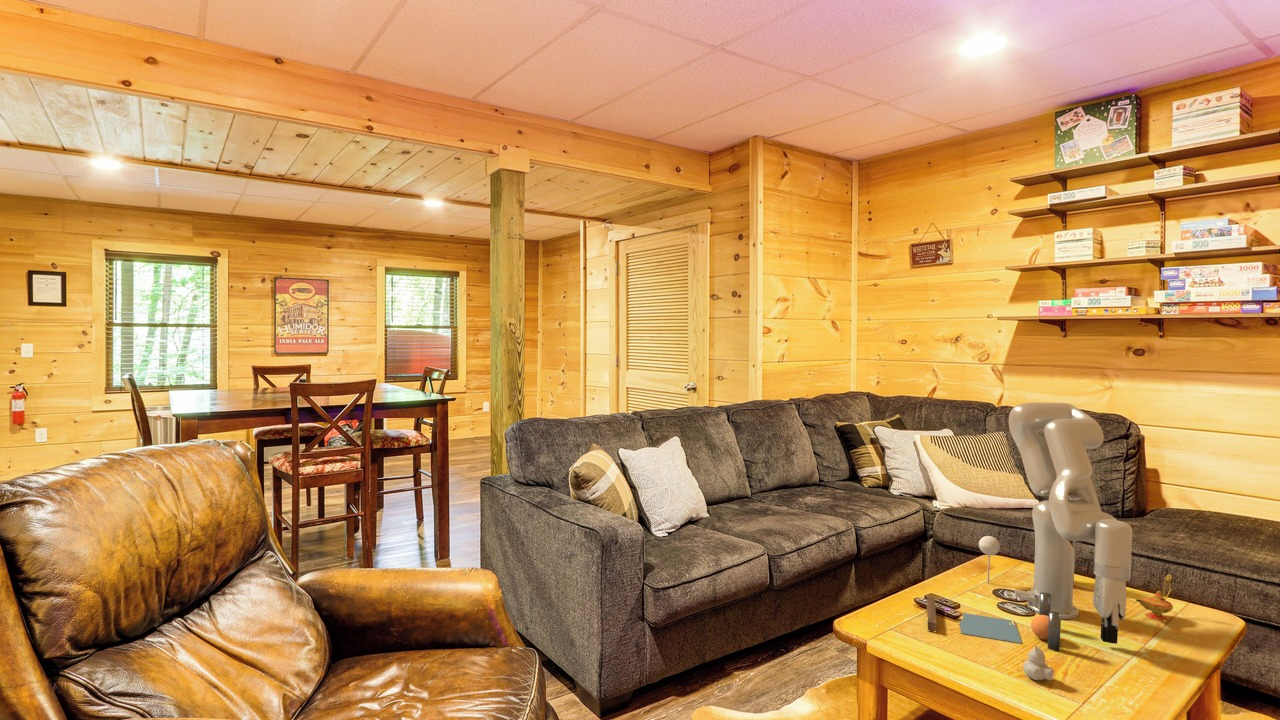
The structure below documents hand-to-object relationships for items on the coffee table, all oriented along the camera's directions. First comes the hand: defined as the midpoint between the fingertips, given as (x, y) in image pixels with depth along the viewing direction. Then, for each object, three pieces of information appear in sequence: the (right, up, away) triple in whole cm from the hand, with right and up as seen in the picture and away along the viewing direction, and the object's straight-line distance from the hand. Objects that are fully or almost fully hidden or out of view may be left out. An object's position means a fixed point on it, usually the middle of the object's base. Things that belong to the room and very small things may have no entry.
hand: (1108, 641), depth 166 cm
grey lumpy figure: (-27, -2, -16) cm, 31 cm away
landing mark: (-25, -1, +11) cm, 27 cm away
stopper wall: (-38, 0, +16) cm, 41 cm away
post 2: (-15, -1, -1) cm, 15 cm away
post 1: (-9, -1, +11) cm, 15 cm away
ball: (-14, +2, +4) cm, 14 cm away
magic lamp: (+24, -1, +17) cm, 30 cm away
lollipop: (-9, 0, +42) cm, 42 cm away
